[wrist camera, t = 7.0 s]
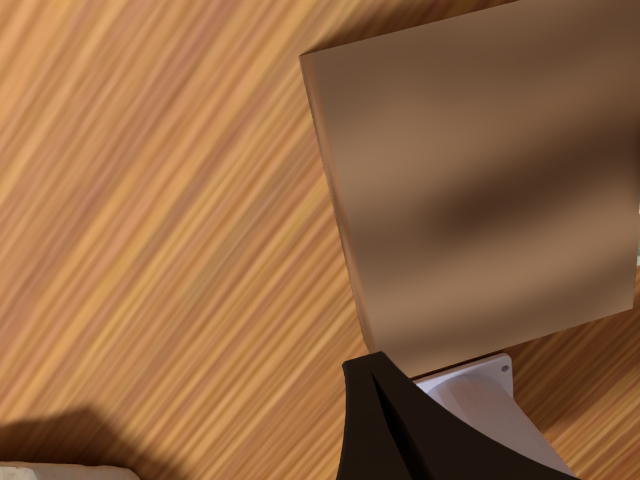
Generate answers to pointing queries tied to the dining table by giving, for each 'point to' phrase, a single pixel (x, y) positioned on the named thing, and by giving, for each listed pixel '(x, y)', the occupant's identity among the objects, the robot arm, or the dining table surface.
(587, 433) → the dining table surface
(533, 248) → the dark wooden board
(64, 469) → the crumpled grey cloth
